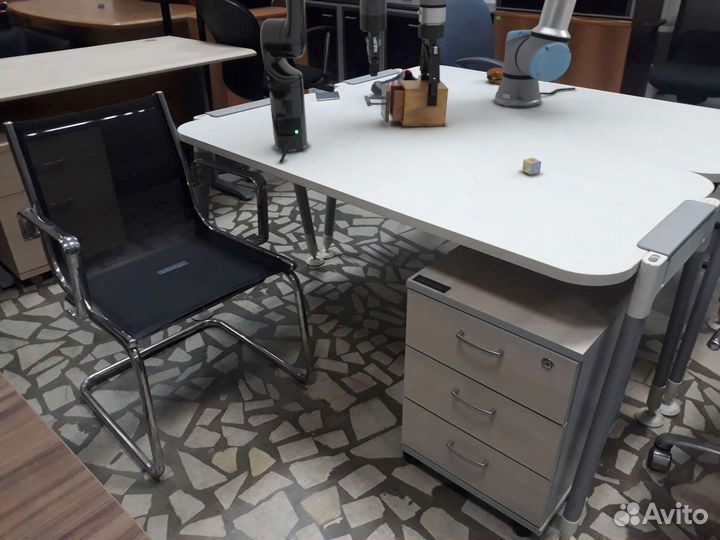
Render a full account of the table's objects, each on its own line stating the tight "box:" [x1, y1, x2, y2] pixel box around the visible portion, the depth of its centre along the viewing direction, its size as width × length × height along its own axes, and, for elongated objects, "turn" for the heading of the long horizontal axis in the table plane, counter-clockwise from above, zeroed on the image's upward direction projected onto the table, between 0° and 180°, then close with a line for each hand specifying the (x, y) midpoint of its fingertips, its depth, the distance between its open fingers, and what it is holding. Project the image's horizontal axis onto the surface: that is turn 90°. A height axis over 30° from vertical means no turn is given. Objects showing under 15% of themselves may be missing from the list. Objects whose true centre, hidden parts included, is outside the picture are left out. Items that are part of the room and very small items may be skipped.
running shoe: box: [370, 69, 422, 97], centre depth 198 cm, size 9×26×11 cm, turn 44°
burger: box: [486, 67, 504, 85], centre depth 219 cm, size 10×9×5 cm
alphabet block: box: [522, 157, 542, 175], centre depth 139 cm, size 3×3×3 cm
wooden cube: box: [400, 80, 449, 127], centre depth 175 cm, size 13×11×11 cm
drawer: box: [364, 84, 405, 124], centre depth 174 cm, size 17×10×9 cm, turn 96°
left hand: (373, 75), depth 169 cm, fingers closed
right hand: (428, 101), depth 174 cm, fingers closed on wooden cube, 11 cm apart
